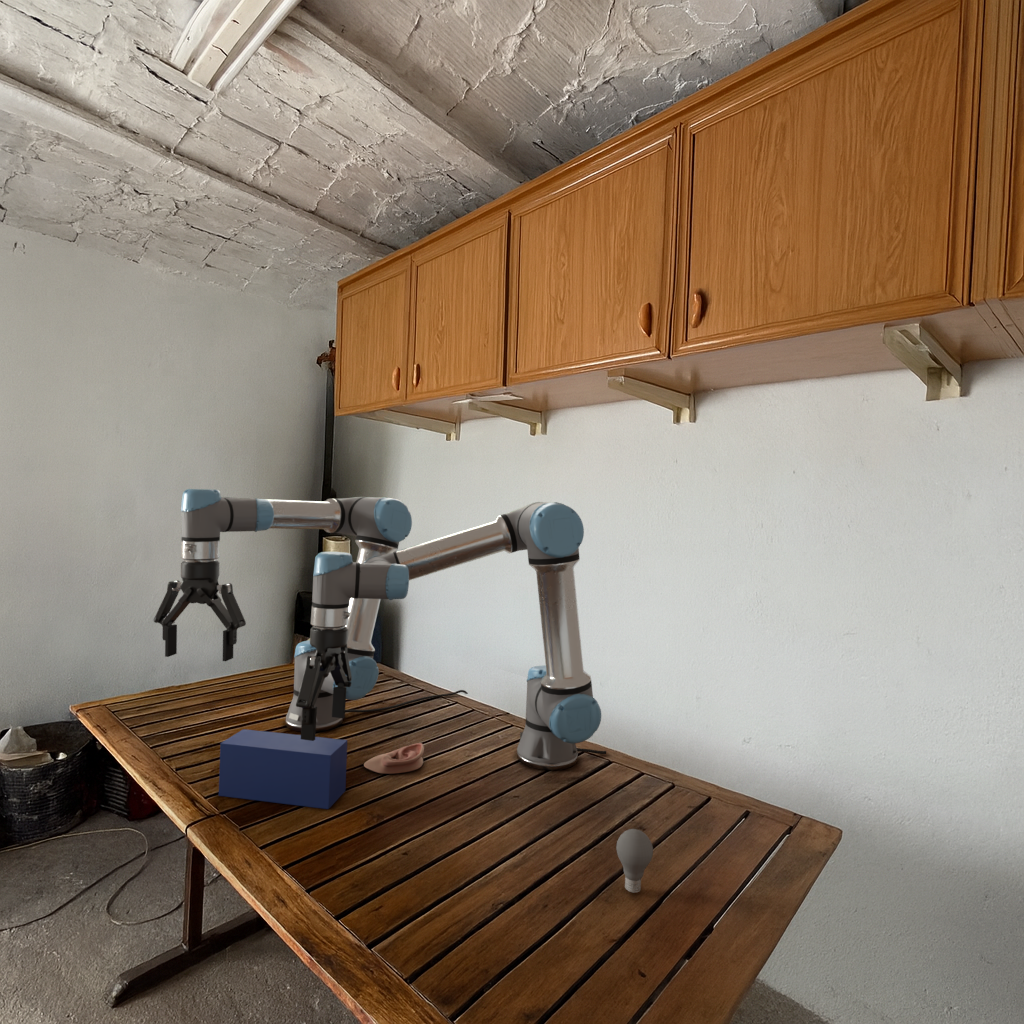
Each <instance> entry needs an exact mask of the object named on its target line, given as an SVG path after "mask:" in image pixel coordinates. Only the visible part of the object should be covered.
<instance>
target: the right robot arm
mask: <svg viewBox="0 0 1024 1024" xmlns="http://www.w3.org/2000/svg"><path fill="white" fill-rule="evenodd" d="M584 528H585V527H584V524H583V521H582V518H581V517H580V515H579V514H578V513H577V511H575V510H574V508H572V507H571V506H568V505H566V504H564V503H562V502H557V501H548V502H547V501H546V502H543V501H536V502H532V503H529V504H526V505H523V506H521V507H519V508H516V509H514V510H512V511H508V512H506V513H503V514H499V515H497V516H496V518H495V520H494V521H491V522H488V523H484V524H481V525H479V526H475V527H471V528H468V529H464V530H461V531H458V532H455V533H452V534H447V535H446V536H441V537H438V538H436V539H432V540H429V541H425V542H422V543H419V544H416V545H413V546H409V547H406V548H402V549H399V550H397V551H396V552H393V553H389V554H386V555H383V556H374V557H371V558H369V559H368V560H366V561H365V562H364V563H356V561H354V560H353V556H352V553H350V552H343V551H321V552H318V553H317V555H316V556H315V558H314V564H313V565H314V566H313V576H312V594H311V595H312V598H311V599H312V600H311V613H310V625H311V626H312V627H311V628H310V630H309V631H310V633H309V638H310V645H311V646H313V647H315V648H316V653H315V656H308V657H307V662H306V669H305V673H304V676H303V680H302V684H301V688H300V691H299V695H298V699H297V702H296V706H297V707H302V724H301V731H300V735H301V739H303V740H310V741H314V740H315V737H316V733H317V732H316V716H317V707H314V706H315V704H316V701H317V698H318V695H319V693H320V690H321V687H322V685H323V682H324V679H325V678H326V677H327V676H328V675H329V672H330V673H331V675H332V677H333V680H334V682H335V684H336V686H338V687H333V704H332V717H336V718H343V719H345V718H346V712H345V710H346V703H347V699H346V687H351V680H352V676H351V670H350V665H349V659H348V654H347V638H348V629H347V627H345V626H346V625H348V617H349V616H350V612H349V601H350V598H354V599H358V598H364V599H381V600H389V601H393V600H404V599H405V598H407V596H408V594H409V588H410V587H409V585H410V581H413V580H417V579H419V578H422V577H426V576H429V575H431V574H435V573H438V572H441V571H444V570H448V569H451V568H455V567H457V566H460V565H464V564H467V563H470V562H473V561H476V560H480V559H483V558H486V557H490V556H492V555H495V554H499V553H502V552H506V553H507V554H513V553H516V552H520V551H527V559H528V560H527V561H528V566H530V567H531V568H532V569H533V570H534V571H535V573H536V584H537V595H538V602H539V603H538V604H539V614H540V622H541V624H540V625H541V632H542V644H543V654H544V664H545V665H536V666H532V667H530V668H529V669H528V671H527V677H526V701H525V702H526V703H525V704H526V705H525V723H524V728H523V731H520V732H519V739H520V740H519V741H518V742H519V743H518V744H517V747H516V758H517V760H518V761H519V762H520V763H521V764H522V765H524V766H527V767H529V768H533V769H535V770H543V771H560V770H561V771H562V770H566V769H570V768H571V767H573V766H575V765H577V764H578V757H579V756H578V755H579V752H580V753H589V754H597V755H607V750H598V749H597V750H596V749H590V748H581V747H580V748H579V747H577V744H581V743H583V742H586V741H587V740H589V739H590V738H592V737H593V736H594V734H595V733H596V732H597V731H598V729H599V727H600V725H601V722H602V709H601V706H600V705H599V702H598V701H597V700H596V699H595V697H594V695H593V684H592V675H590V674H589V673H588V672H587V671H586V670H585V669H584V658H583V649H582V637H581V629H580V628H581V627H580V620H579V608H578V607H579V606H578V598H577V597H578V596H577V586H576V577H575V576H576V575H575V567H576V565H577V564H578V562H579V561H580V559H581V558H580V546H581V544H582V543H583V540H584V536H585V529H584ZM346 675H347V676H346Z"/></svg>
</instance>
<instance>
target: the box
mask: <svg viewBox="0 0 1024 1024" xmlns="http://www.w3.org/2000/svg"><path fill="white" fill-rule="evenodd" d="M219 744H220V747H219V748H220V749H219V773H218V774H219V775H218V776H219V777H218V778H219V779H218V797H225V798H226V797H228V798H234V799H243V800H250V801H258V802H259V801H260V802H265V803H266V802H267V803H276V804H282V805H283V804H284V805H291V806H298V807H299V806H300V807H305V808H306V807H307V808H314V809H321V810H322V809H323V810H329V809H331V807H332V806H333V805H334V804H335V803H336V802H337V801H338V800H339V798H341V796H342V795H343V794H344V793H345V792H346V787H347V786H346V785H347V764H348V763H347V762H348V761H347V759H348V739H340V738H332V737H320V736H315V740H314V741H310V740H303V739H301V734H293V733H284V732H276V731H275V732H274V731H265V730H264V731H263V730H254V729H247V728H246V729H245V728H243V729H241V730H240V731H238V732H236V733H234V734H233V735H232V736H230V737H228V738H227V739H224V740H223V741H222V742H220V743H219Z"/></svg>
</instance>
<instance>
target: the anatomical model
mask: <svg viewBox="0 0 1024 1024" xmlns="http://www.w3.org/2000/svg"><path fill="white" fill-rule="evenodd" d="M424 752H425V745H424V744H423V743H422V742H417V743H412V744H410V745H406V746H402V747H399V748H398V749H394V750H391V751H390V752H386V753H381V754H378V755H376V756H374V757H371V758H370V759H368V760H366V761H365V762H364V764H363V767H364V768H366V769H367V770H369V771H371V772H375V773H378V774H385V775H387V774H388V775H390V774H403V773H408V772H413V771H415V770H419V769H420V768H421V767H422V766H423V764H424V759H423V755H424Z"/></svg>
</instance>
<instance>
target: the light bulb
mask: <svg viewBox="0 0 1024 1024" xmlns="http://www.w3.org/2000/svg"><path fill="white" fill-rule="evenodd" d="M615 849H616V854H617V857H618V859H619V861H620V863H621V865H622V867H623V873H624V874H623V875H624V876H625V878H624V888H625V890H627V891H628V892H630V893H634V894H635V893H639V892H640V891H641V889H642V887H641V886H642V879H643V877H644V875H645V871H646V868H647V867H648V866H649V864H650V863H651V861H652V859H653V855H654V847H653V843H652V841H651V838H649V836H648V835H647V834H646V833H645V832H643V831H642V830H641V829H636V828H629V829H627V830H625V831H623V832H622V833H621V834H620V835H619V837H618V839H617V841H616V847H615Z"/></svg>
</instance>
